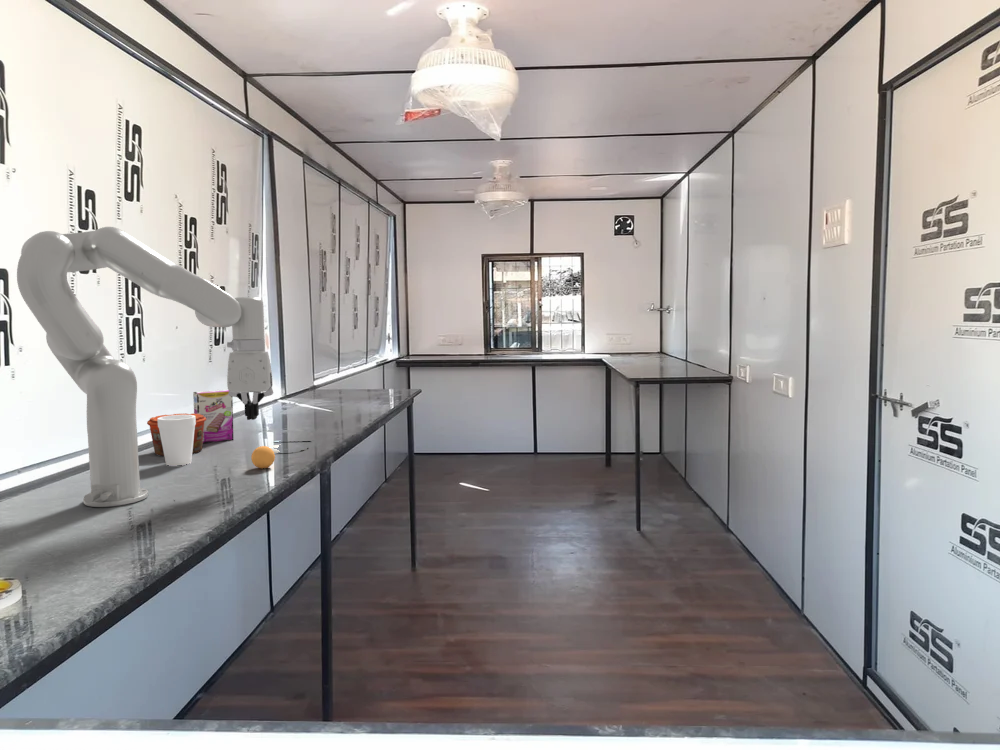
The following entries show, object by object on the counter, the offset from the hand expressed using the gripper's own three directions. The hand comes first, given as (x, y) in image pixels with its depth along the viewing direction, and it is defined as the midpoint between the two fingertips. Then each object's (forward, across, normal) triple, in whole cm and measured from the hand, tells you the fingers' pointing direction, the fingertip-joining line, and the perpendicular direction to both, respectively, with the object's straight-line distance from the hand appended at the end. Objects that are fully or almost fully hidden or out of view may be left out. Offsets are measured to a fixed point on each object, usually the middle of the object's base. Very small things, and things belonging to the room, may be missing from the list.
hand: (252, 418), depth 169 cm
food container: (+15, -31, +33) cm, 48 cm away
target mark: (+15, 0, +34) cm, 38 cm away
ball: (+12, 0, +9) cm, 15 cm away
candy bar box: (+15, -26, +50) cm, 59 cm away
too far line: (+15, 0, +46) cm, 49 cm away
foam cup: (+15, -25, +17) cm, 34 cm away
